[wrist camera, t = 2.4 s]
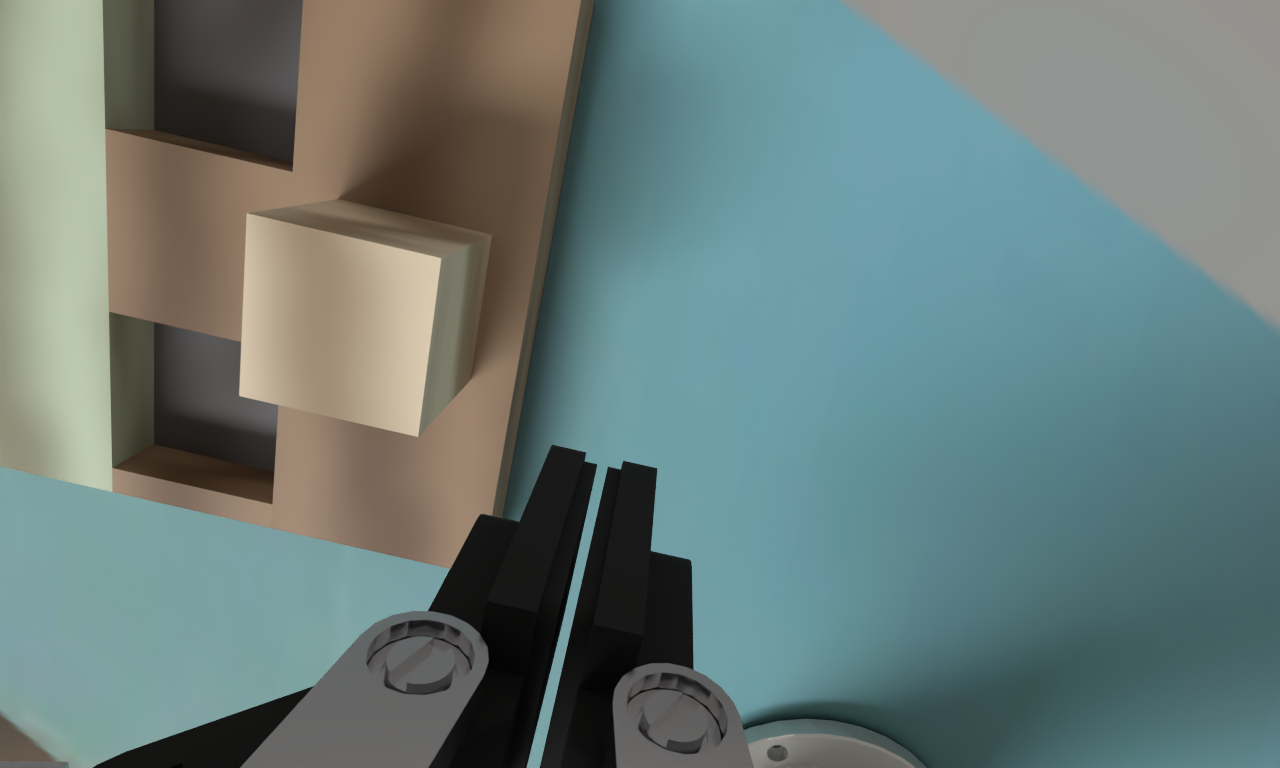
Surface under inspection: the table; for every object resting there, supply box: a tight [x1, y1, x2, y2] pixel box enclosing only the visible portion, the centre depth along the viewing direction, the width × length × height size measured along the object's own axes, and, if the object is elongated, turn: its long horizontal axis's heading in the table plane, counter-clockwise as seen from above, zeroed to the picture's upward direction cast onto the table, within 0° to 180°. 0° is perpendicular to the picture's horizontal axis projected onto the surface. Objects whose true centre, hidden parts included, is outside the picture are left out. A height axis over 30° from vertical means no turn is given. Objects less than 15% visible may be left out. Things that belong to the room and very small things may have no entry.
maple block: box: [239, 199, 492, 437], centre depth 21 cm, size 5×5×5 cm
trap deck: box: [0, 0, 594, 569], centre depth 25 cm, size 22×20×2 cm
